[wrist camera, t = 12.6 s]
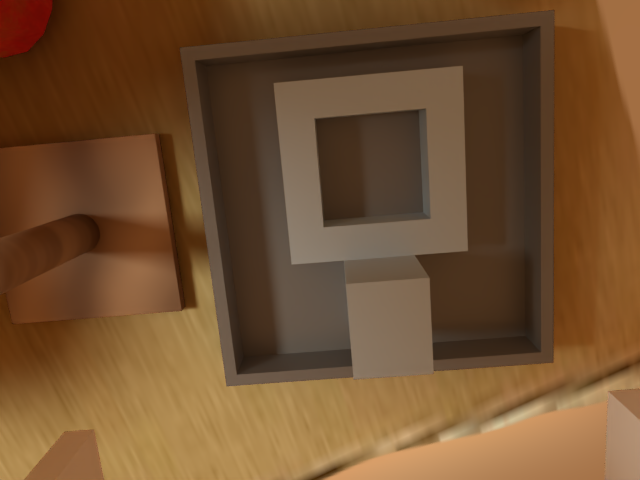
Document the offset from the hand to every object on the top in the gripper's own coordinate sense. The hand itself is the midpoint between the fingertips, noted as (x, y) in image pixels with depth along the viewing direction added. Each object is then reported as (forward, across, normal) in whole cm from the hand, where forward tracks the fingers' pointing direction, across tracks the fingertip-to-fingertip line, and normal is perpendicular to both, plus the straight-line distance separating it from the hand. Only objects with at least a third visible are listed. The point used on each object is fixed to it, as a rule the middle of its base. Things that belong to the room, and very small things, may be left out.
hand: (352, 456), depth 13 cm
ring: (+19, +3, +3) cm, 20 cm away
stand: (+20, -15, +3) cm, 25 cm away
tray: (+20, +3, +3) cm, 20 cm away
